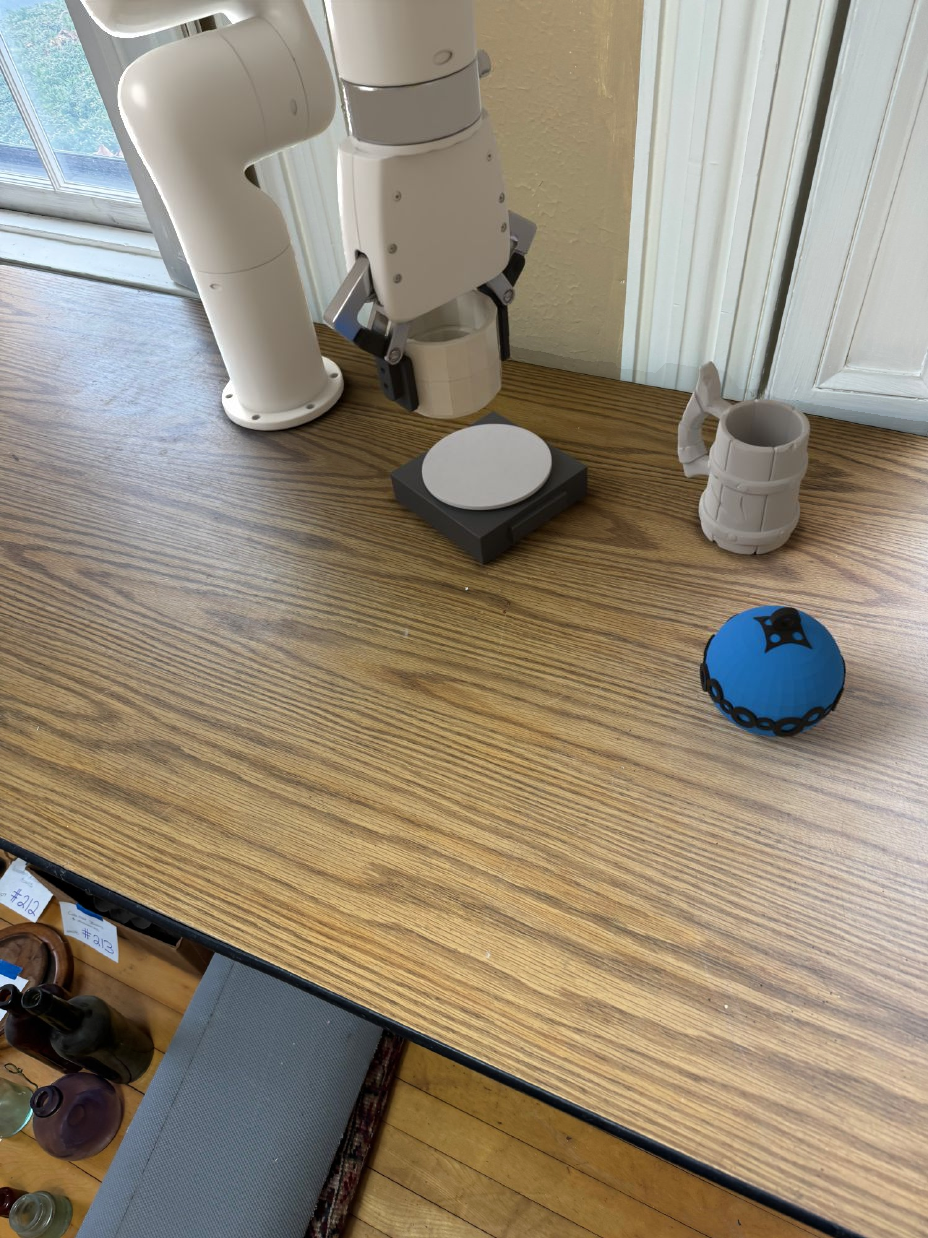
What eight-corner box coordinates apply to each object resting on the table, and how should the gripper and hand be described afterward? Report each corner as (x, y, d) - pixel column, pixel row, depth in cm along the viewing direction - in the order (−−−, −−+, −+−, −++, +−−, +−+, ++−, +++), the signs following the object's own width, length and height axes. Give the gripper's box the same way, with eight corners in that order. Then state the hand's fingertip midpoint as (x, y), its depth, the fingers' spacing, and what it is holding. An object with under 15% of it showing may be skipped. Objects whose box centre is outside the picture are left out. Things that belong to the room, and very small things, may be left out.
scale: (395, 499, 76) (388, 466, 73) (495, 437, 80) (492, 403, 78) (487, 568, 69) (483, 534, 66) (592, 496, 73) (592, 461, 71)
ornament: (808, 654, 60) (839, 552, 52) (847, 759, 54) (888, 661, 47) (684, 665, 61) (697, 565, 53) (710, 770, 55) (729, 674, 47)
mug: (747, 572, 66) (772, 446, 57) (643, 496, 73) (650, 373, 64) (817, 528, 68) (851, 400, 59) (709, 458, 75) (725, 334, 66)
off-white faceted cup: (379, 393, 62) (364, 317, 57) (458, 350, 65) (450, 275, 60) (442, 437, 58) (430, 359, 53) (523, 389, 60) (519, 311, 56)
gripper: (489, 43, 52) (507, 309, 66) (243, 136, 46) (317, 409, 59) (574, 66, 48) (575, 346, 61) (316, 172, 42) (379, 457, 55)
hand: (448, 375), depth 60 cm, fingers closed on off-white faceted cup, 7 cm apart
